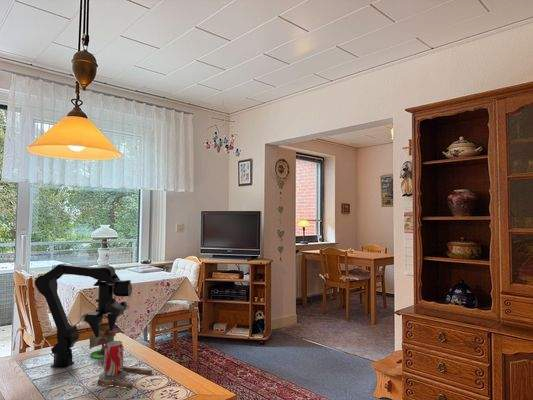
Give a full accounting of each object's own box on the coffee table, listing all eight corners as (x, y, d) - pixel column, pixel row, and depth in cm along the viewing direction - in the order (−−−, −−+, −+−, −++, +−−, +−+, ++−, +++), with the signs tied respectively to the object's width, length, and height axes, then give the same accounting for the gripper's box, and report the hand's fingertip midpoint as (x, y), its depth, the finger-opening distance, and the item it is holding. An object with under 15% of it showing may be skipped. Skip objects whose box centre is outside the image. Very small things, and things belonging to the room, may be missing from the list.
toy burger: (123, 353, 173) (124, 320, 173) (96, 361, 163) (97, 326, 164) (111, 347, 180) (112, 315, 181) (84, 354, 171) (85, 320, 171)
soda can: (116, 378, 145) (117, 346, 146) (99, 376, 147) (100, 345, 147) (126, 371, 152) (127, 341, 153) (110, 369, 154) (111, 339, 154)
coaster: (93, 379, 145) (93, 378, 145) (110, 369, 155) (110, 368, 155) (115, 382, 143) (116, 381, 143) (131, 372, 152) (131, 371, 152)
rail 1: (97, 384, 141) (97, 380, 141) (99, 382, 142) (100, 378, 142) (130, 388, 138) (130, 384, 138) (132, 387, 139) (132, 383, 139)
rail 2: (119, 370, 154) (119, 366, 154) (121, 369, 155) (121, 365, 155) (150, 374, 150) (150, 370, 150) (152, 373, 151) (152, 369, 152)
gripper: (107, 302, 149) (106, 342, 149) (135, 293, 167) (134, 329, 167) (83, 300, 152) (82, 339, 151) (113, 291, 170) (112, 326, 169)
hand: (104, 333), depth 160 cm, fingers open, 9 cm apart
